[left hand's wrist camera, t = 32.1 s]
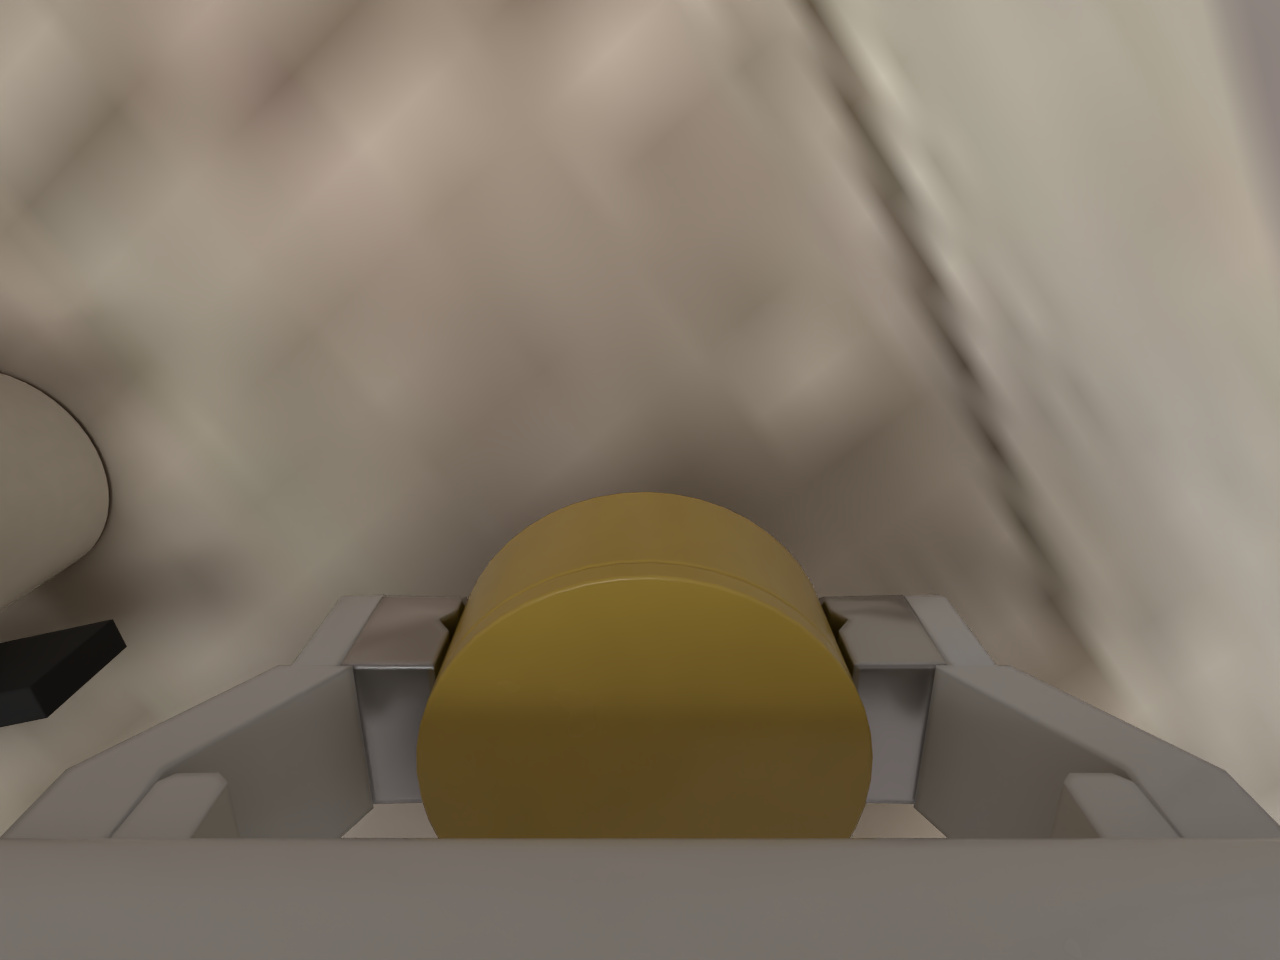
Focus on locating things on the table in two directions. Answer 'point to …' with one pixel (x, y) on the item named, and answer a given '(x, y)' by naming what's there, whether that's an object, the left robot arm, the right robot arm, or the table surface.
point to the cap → (644, 686)
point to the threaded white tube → (44, 490)
